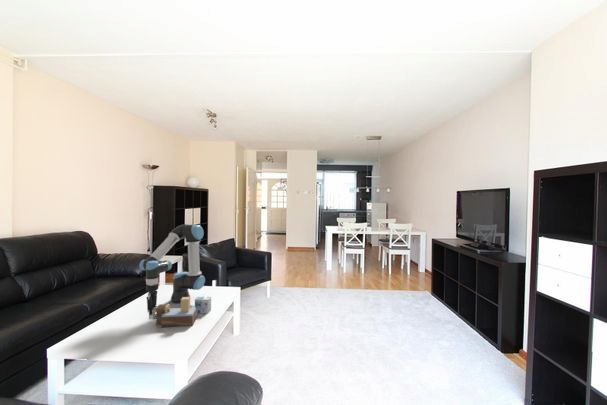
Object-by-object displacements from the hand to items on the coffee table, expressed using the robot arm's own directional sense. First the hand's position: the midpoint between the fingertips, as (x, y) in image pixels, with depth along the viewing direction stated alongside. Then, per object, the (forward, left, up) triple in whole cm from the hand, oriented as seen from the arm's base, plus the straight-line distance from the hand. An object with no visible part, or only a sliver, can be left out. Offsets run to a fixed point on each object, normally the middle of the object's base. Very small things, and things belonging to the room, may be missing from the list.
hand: (151, 318), depth 198 cm
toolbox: (0, +16, -4) cm, 16 cm away
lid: (0, +18, +3) cm, 18 cm away
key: (0, +4, +4) cm, 6 cm away
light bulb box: (-19, +30, -4) cm, 36 cm away
